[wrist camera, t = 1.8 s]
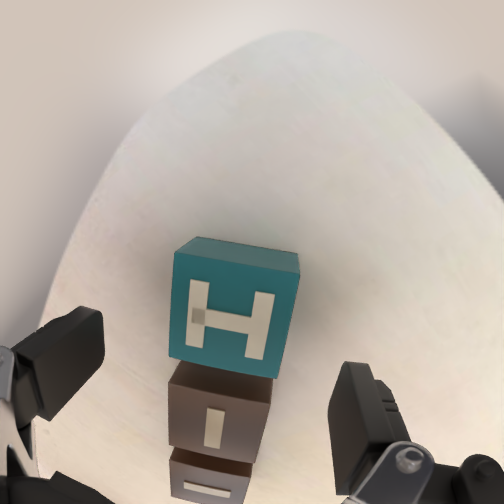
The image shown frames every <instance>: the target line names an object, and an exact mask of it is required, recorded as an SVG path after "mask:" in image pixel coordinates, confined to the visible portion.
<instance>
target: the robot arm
mask: <svg viewBox="0 0 504 504" xmlns="http://www.w3.org/2000/svg"><path fill="white" fill-rule="evenodd" d="M104 356H105V344H104V328H103V316H102V313H101V312H100V311H98V310H94V309H91V308H88V307H84V306H79V307H77V308H76V309H74V310H73V311H71V312H70V313H69V314H67V315H65V316H62V317H58V318H55V319H53V320H51V321H50V322H48V323H47V324H45V325H44V327H41V328H40V329H38V330H37V331H36V333H35V332H34V333H32V334H31V335H29V336H28V337H26V338H25V339H24V340H22V341H21V342H19V343H18V344H16V345H15V346H14V347H12V348H11V349H9V348H7V347H4V346H0V504H115V503H113V502H112V501H110V500H109V499H107V498H106V497H105V496H103V495H102V494H100V493H99V492H98V491H96V490H95V489H93V488H91V487H88V486H86V485H84V484H82V483H80V482H78V481H76V480H74V479H72V478H70V477H68V476H66V475H64V474H62V473H60V472H58V471H56V472H55V473H54V475H53V476H52V477H51V479H50V480H49V479H44V478H40V475H39V471H38V465H37V454H36V440H35V424H34V421H33V418H34V417H35V416H36V415H38V416H40V417H42V418H43V419H45V420H47V421H49V422H50V421H51V420H52V419H53V418H54V416H55V415H56V414H57V413H58V412H59V411H60V410H61V409H62V408H63V407H64V405H65V404H66V403H67V402H68V401H69V400H70V399H71V398H72V397H73V396H74V394H75V393H76V392H77V391H78V390H79V389H80V388H81V387H82V386H83V385H84V384H85V383H86V381H87V380H88V379H89V378H90V377H91V376H92V375H93V374H94V373H95V372H96V371H97V370H98V369H99V368H100V366H101V365H102V363H103V360H104ZM398 411H399V409H398V406H397V404H396V403H395V399H394V397H393V394H392V392H391V390H390V389H389V388H388V387H387V386H386V385H385V384H384V383H383V382H382V381H381V380H374V377H373V375H372V372H371V369H370V367H369V365H368V364H366V363H357V362H347V361H345V362H344V363H343V365H342V367H341V370H340V373H339V376H338V379H337V382H336V384H335V387H334V390H333V393H332V396H331V398H330V402H329V406H328V424H329V432H330V440H331V449H332V458H333V467H334V477H335V487H336V495H349V497H347V498H346V499H345V500H344V501H343V502H342V503H341V504H504V472H503V470H502V468H501V466H500V465H499V464H498V462H496V461H495V460H494V459H493V458H491V457H489V456H486V455H482V454H475V455H471V456H469V457H468V458H466V459H465V461H464V462H463V463H462V465H461V466H460V467H455V466H448V465H442V464H437V463H435V462H434V458H433V456H432V455H431V453H430V452H429V451H428V450H427V449H426V448H424V447H423V446H421V445H419V444H416V443H413V442H411V439H410V437H409V434H408V431H407V429H406V426H405V424H404V421H403V419H402V416H401V414H400V412H398Z"/></svg>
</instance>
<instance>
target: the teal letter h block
mask: <svg viewBox="0 0 504 504" xmlns="http://www.w3.org/2000/svg"><path fill="white" fill-rule="evenodd" d="M299 278H300V270H299V261H298V254H297V253H291V252H285V251H279V250H273V249H267V248H262V247H256V246H250V245H244V244H238V243H232V242H226V241H220V240H214V239H208V238H202V237H195V238H194V239H192V240H191V241H190V242H188V243H187V244H185V245H184V246H183V247H181V248H180V249H178V250H177V251H176V252H175V253H174V264H173V278H172V292H171V310H170V331H169V357H172V358H176V359H180V360H184V361H188V362H193V363H197V364H201V365H206V366H210V367H215V368H220V369H225V370H230V371H235V372H240V373H246V374H251V375H257V376H263V377H269V378H275V379H277V377H278V373H279V369H280V365H281V361H282V356H283V352H284V348H285V343H286V339H287V334H288V330H289V325H290V321H291V316H292V312H293V307H294V302H295V298H296V293H297V288H298V283H299Z"/></svg>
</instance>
